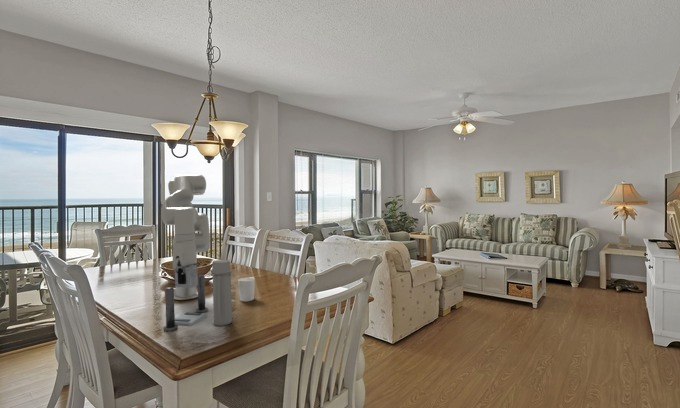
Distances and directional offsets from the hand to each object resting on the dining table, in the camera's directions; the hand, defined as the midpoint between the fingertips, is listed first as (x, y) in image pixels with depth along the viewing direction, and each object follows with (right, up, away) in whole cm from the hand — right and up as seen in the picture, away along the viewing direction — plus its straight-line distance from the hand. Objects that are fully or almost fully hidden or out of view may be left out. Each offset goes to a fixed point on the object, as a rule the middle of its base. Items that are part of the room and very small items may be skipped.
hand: (186, 281), depth 148 cm
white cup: (+18, -15, +28) cm, 36 cm away
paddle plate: (0, -16, +1) cm, 16 cm away
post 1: (-2, -16, -10) cm, 19 cm away
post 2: (+2, -15, +11) cm, 19 cm away
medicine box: (0, -2, 0) cm, 2 cm away
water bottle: (+17, -16, -5) cm, 24 cm away
